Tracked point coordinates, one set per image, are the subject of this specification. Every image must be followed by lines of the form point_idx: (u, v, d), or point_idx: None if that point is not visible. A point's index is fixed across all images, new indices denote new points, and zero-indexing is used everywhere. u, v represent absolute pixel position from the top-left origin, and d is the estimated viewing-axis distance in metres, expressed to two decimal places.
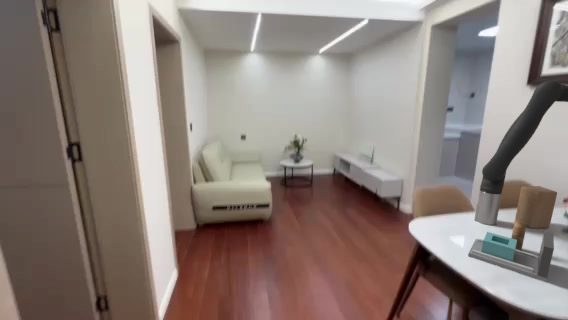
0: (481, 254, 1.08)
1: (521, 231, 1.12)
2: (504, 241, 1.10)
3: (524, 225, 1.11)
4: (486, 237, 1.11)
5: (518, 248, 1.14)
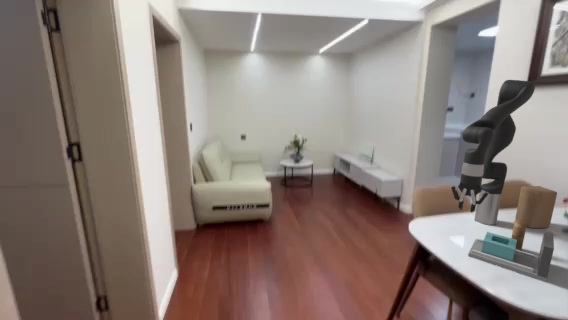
0: (481, 254, 1.08)
1: (521, 231, 1.12)
2: (504, 241, 1.10)
3: (524, 225, 1.11)
4: (486, 237, 1.11)
5: (518, 248, 1.14)
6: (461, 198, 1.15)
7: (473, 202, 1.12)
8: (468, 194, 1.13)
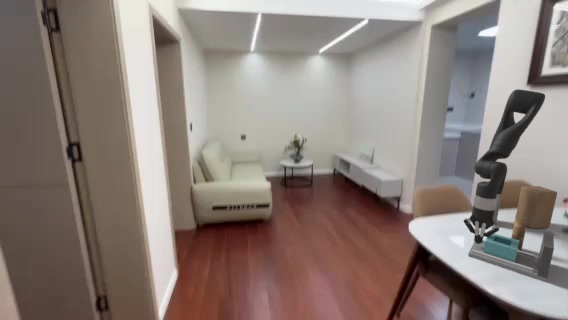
0: (481, 254, 1.08)
1: (521, 231, 1.12)
2: (506, 242, 1.09)
3: (524, 225, 1.11)
4: (488, 238, 1.10)
5: (518, 248, 1.14)
6: (476, 231, 1.13)
7: (480, 234, 1.12)
8: (480, 227, 1.12)
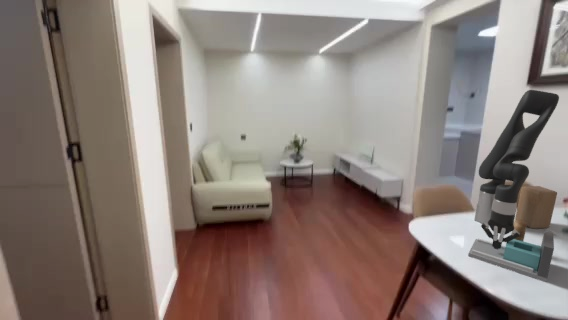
0: (481, 254, 1.08)
1: (521, 231, 1.12)
2: (527, 247, 1.05)
3: (524, 225, 1.11)
4: (508, 243, 1.06)
5: None
6: (495, 237, 1.08)
7: (499, 239, 1.07)
8: (499, 232, 1.07)
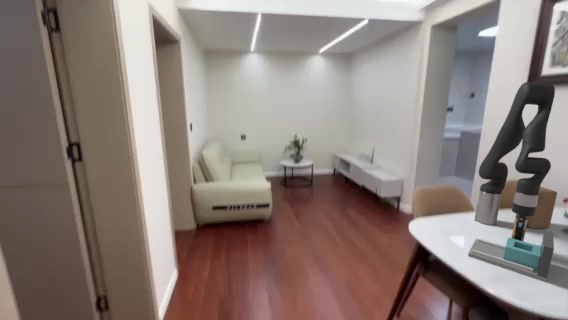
0: (481, 254, 1.08)
1: None
2: (527, 247, 1.05)
3: None
4: (508, 243, 1.06)
5: None
6: None
7: None
8: None
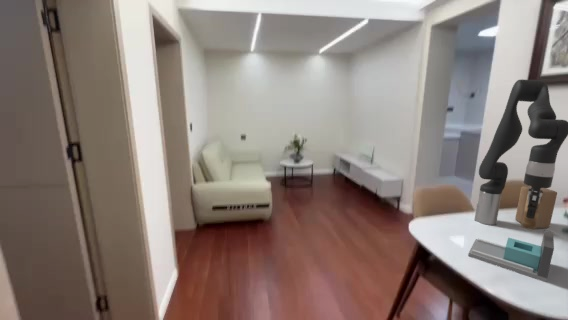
0: (481, 254, 1.08)
1: None
2: (527, 247, 1.05)
3: None
4: (508, 243, 1.06)
5: (531, 226, 0.99)
6: None
7: None
8: None
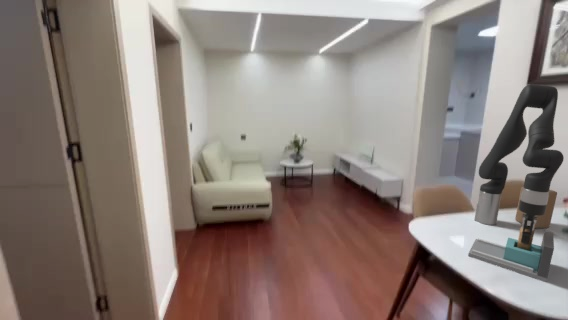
0: (481, 254, 1.08)
1: None
2: None
3: None
4: (508, 243, 1.06)
5: None
6: None
7: None
8: None
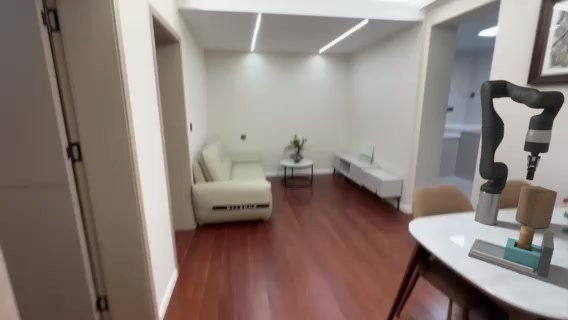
0: (481, 254, 1.08)
1: (528, 239, 1.01)
2: None
3: (532, 232, 1.00)
4: (508, 243, 1.06)
5: None
6: (535, 168, 1.06)
7: None
8: None
